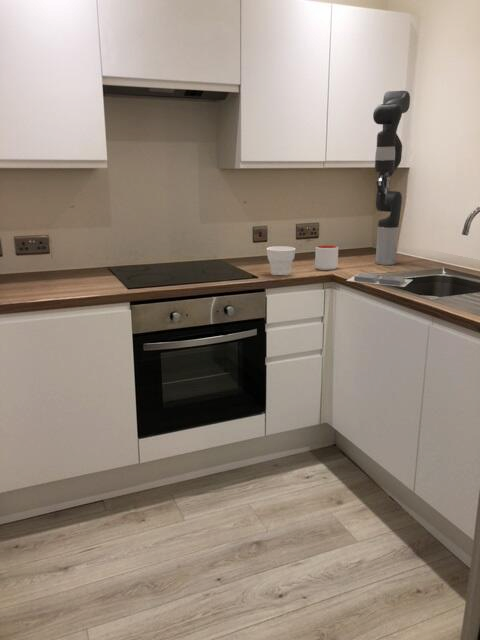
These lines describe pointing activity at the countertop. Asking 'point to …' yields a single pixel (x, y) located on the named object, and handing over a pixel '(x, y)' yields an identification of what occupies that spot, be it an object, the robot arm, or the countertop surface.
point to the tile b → (392, 280)
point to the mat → (381, 283)
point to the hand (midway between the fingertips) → (382, 203)
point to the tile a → (366, 277)
